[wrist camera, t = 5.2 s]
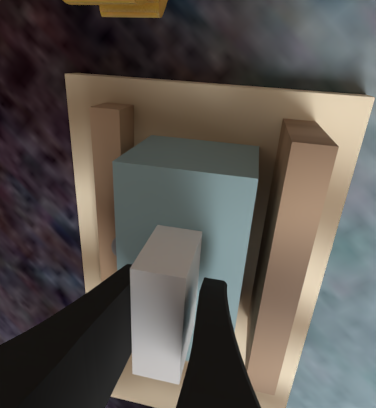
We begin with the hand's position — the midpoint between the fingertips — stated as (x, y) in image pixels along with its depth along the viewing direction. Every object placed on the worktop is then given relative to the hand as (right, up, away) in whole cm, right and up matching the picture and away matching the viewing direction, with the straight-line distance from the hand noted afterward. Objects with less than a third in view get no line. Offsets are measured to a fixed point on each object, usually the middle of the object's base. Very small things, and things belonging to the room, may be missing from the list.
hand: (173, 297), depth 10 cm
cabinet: (+1, +2, +5) cm, 5 cm away
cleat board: (+1, -1, +7) cm, 7 cm away
